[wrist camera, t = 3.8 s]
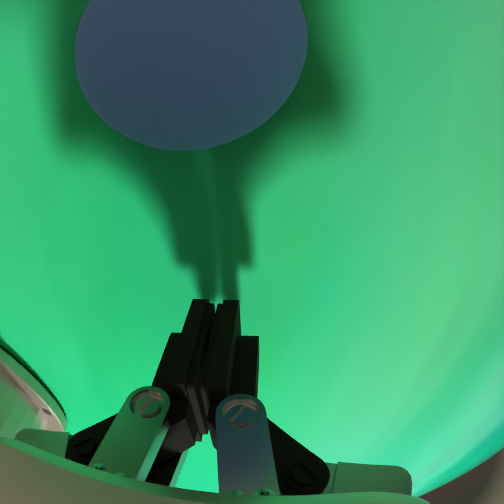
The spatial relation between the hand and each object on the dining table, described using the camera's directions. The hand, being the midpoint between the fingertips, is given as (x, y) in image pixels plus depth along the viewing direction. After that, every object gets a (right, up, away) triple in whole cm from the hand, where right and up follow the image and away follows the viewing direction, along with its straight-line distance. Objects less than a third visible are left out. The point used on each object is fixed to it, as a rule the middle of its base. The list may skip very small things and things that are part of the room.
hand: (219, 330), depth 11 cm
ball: (0, +8, -5) cm, 10 cm away
